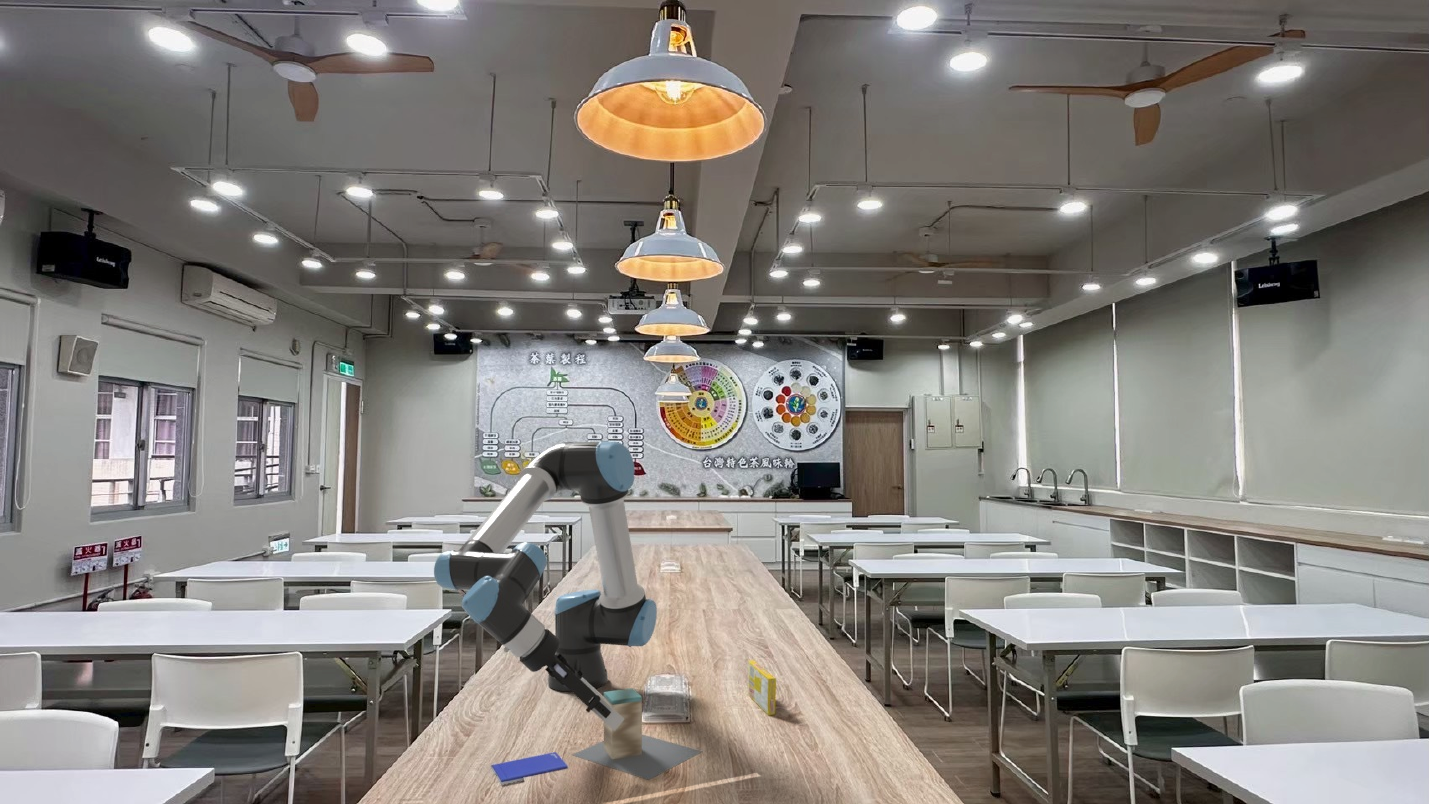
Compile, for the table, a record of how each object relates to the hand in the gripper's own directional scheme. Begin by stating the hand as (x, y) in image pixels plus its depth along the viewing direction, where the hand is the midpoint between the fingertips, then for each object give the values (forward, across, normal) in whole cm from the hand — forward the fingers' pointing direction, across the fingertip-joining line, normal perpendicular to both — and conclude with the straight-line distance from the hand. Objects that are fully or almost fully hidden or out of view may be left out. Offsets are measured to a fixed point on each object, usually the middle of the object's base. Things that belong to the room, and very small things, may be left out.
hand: (609, 713), depth 151 cm
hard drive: (-4, -1, -17) cm, 18 cm away
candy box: (+35, -16, +23) cm, 45 cm away
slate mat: (+10, +1, -2) cm, 10 cm away
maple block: (+8, -1, -4) cm, 8 cm away
